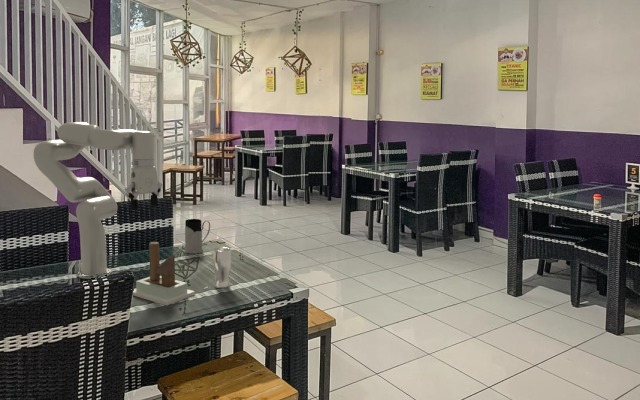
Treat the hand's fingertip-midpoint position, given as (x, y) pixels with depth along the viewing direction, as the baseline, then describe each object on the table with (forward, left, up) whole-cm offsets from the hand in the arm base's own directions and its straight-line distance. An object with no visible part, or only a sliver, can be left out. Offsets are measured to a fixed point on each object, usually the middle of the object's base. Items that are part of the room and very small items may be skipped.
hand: (144, 207), depth 212 cm
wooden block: (+15, -6, -29) cm, 33 cm away
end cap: (+15, -6, -30) cm, 34 cm away
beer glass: (+27, +14, -31) cm, 43 cm away
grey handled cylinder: (-17, +47, -31) cm, 59 cm away
